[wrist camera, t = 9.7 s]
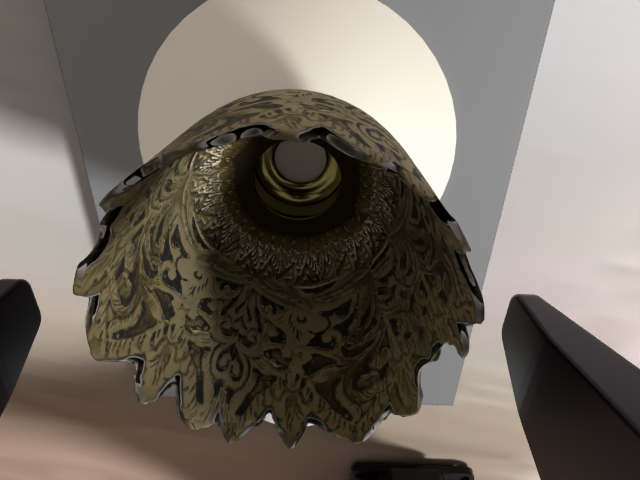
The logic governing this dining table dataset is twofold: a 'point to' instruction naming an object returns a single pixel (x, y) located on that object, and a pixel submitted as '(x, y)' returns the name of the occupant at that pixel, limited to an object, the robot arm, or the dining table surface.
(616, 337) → the dining table surface
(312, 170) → the carrier plate
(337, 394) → the cup
